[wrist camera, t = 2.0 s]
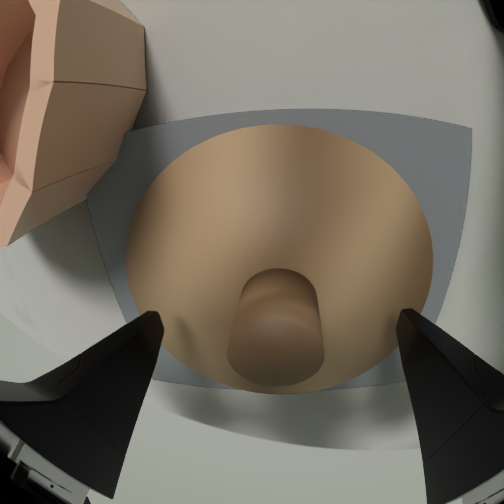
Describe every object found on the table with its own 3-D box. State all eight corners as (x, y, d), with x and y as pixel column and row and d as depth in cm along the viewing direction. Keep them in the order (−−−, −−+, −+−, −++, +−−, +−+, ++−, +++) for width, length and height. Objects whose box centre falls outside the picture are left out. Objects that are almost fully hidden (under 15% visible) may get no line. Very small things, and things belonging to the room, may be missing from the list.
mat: (465, 127, 7) (471, 128, 7) (407, 374, 13) (409, 380, 13) (84, 145, 9) (77, 146, 9) (155, 373, 16) (153, 379, 15)
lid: (443, 134, 7) (506, 148, 4) (390, 378, 13) (403, 428, 10) (104, 150, 9) (40, 169, 6) (172, 377, 15) (153, 425, 12)
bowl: (146, -37, 5) (85, -83, 1) (159, 188, 10) (79, 240, 6) (1, 54, 7) (-58, 60, 2) (14, 215, 12) (-43, 251, 7)
